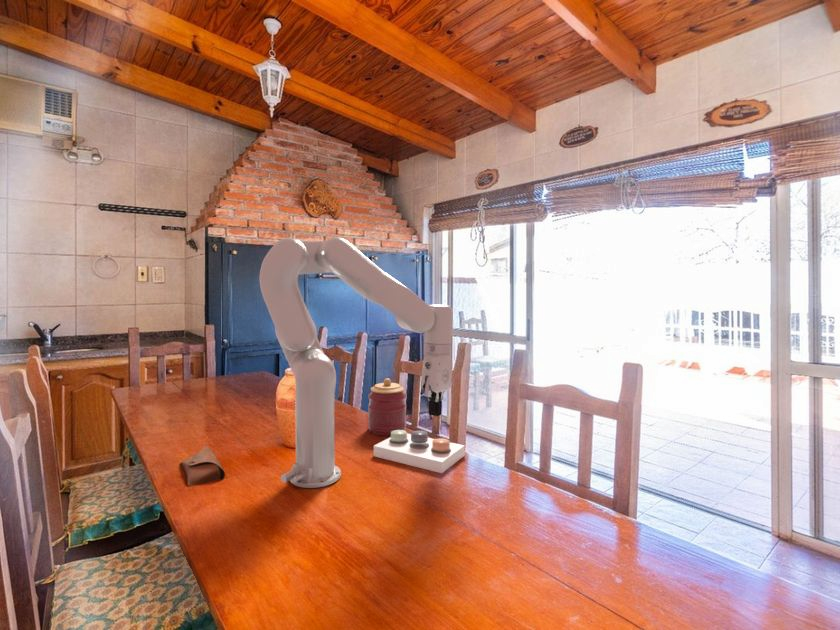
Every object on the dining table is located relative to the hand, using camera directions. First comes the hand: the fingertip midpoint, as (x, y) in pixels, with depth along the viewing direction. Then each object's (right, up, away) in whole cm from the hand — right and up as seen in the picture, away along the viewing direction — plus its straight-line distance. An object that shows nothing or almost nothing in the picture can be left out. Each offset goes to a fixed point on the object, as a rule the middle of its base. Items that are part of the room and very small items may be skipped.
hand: (435, 414), depth 121 cm
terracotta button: (+2, -9, 0) cm, 9 cm away
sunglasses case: (-61, -14, -7) cm, 63 cm away
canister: (-15, -11, +26) cm, 32 cm away
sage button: (-10, -9, +7) cm, 15 cm away
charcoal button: (-4, -8, +3) cm, 10 cm away
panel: (-4, -13, +3) cm, 14 cm away
